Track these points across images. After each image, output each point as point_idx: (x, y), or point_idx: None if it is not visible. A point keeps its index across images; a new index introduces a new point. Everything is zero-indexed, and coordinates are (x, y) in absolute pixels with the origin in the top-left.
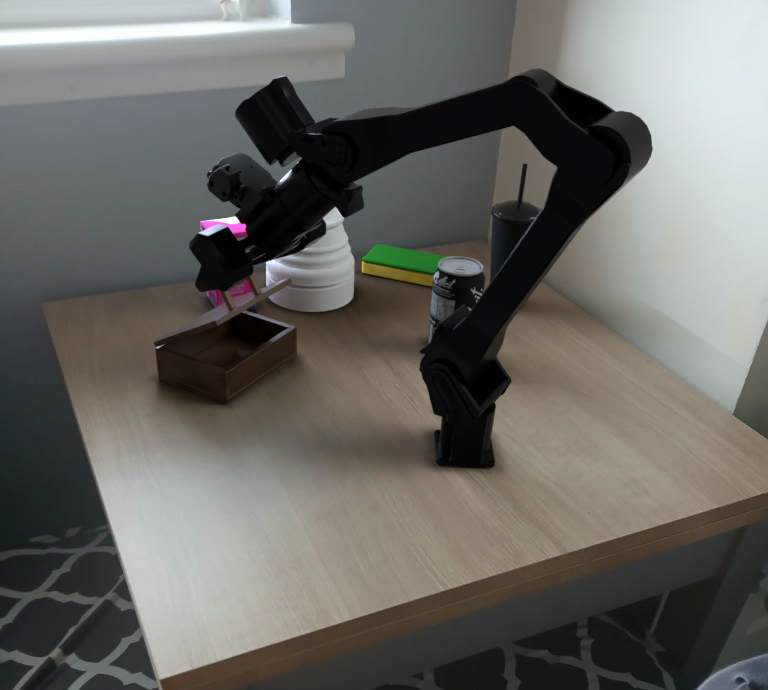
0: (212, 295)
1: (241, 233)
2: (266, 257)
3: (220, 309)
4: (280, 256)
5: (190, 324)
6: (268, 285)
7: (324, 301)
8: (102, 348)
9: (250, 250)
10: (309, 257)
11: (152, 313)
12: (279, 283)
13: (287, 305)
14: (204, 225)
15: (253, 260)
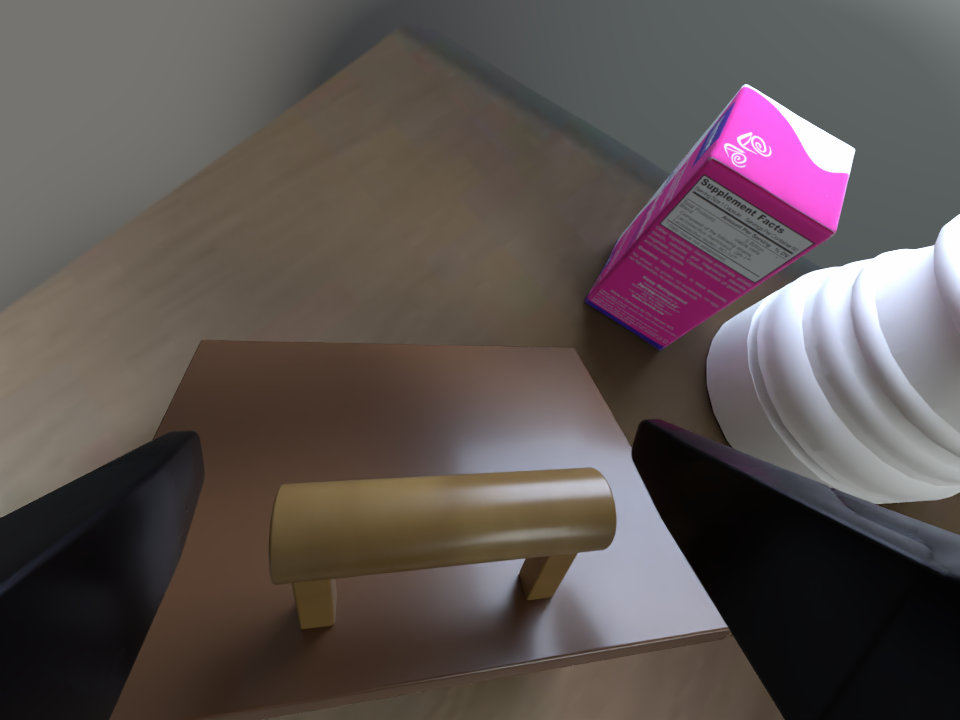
0: (611, 259)
1: (801, 217)
2: (718, 582)
3: (434, 432)
4: (788, 716)
5: (308, 396)
6: None
7: None
8: (298, 196)
9: (694, 453)
10: (891, 417)
11: (491, 193)
12: (657, 638)
13: (718, 405)
14: (740, 104)
15: (660, 484)
